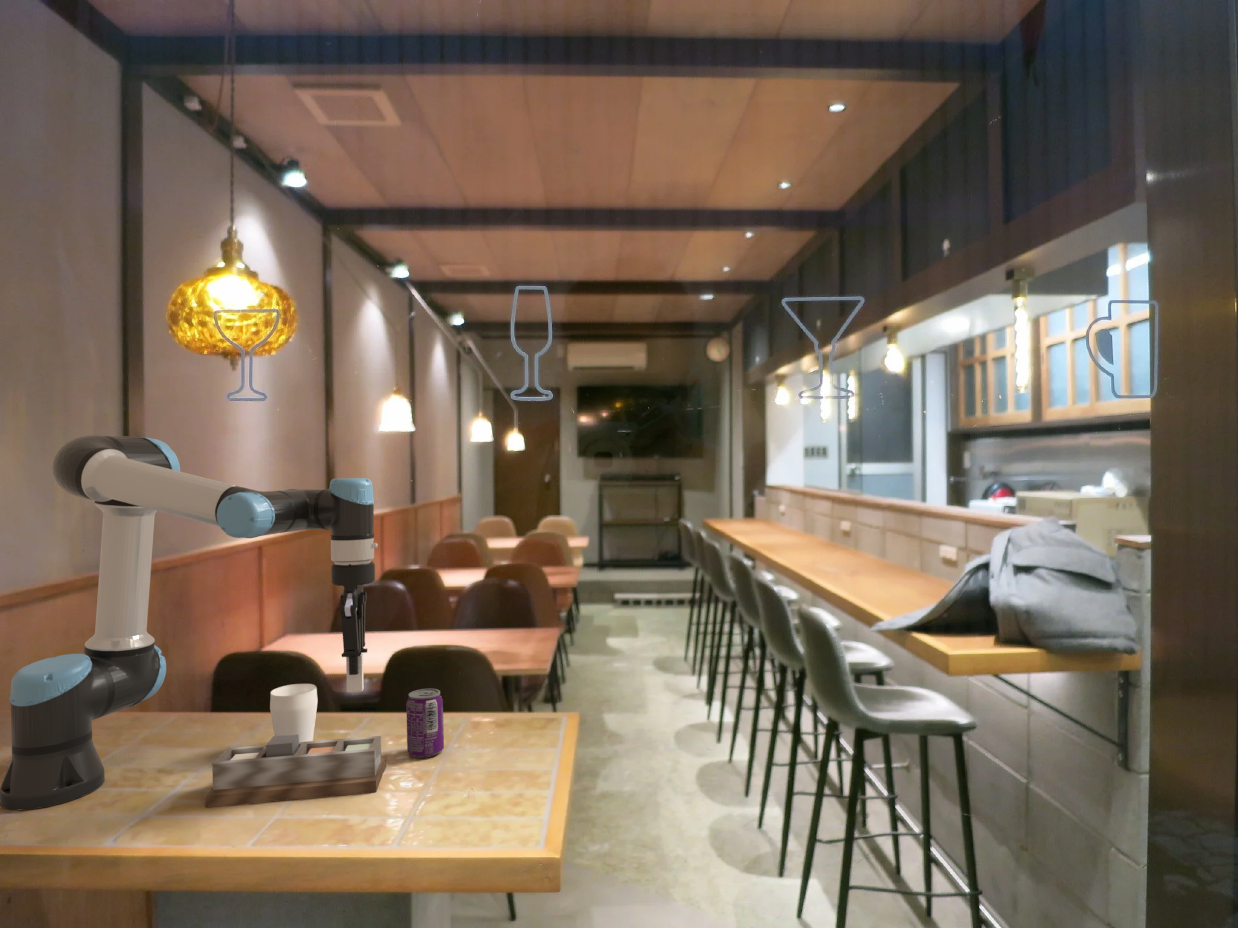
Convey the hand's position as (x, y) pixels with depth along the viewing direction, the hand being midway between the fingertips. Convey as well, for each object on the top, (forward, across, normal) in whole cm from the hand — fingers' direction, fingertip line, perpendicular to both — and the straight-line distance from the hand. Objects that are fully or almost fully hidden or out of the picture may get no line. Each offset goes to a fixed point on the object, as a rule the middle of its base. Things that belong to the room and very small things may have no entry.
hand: (355, 690), depth 138 cm
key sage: (+14, 0, 0) cm, 14 cm away
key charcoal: (+11, 0, +13) cm, 17 cm away
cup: (+17, +20, +16) cm, 30 cm away
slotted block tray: (+17, 0, +10) cm, 19 cm away
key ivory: (+14, 0, +19) cm, 24 cm away
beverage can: (+17, +11, -11) cm, 23 cm away
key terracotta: (+14, 0, +6) cm, 15 cm away
